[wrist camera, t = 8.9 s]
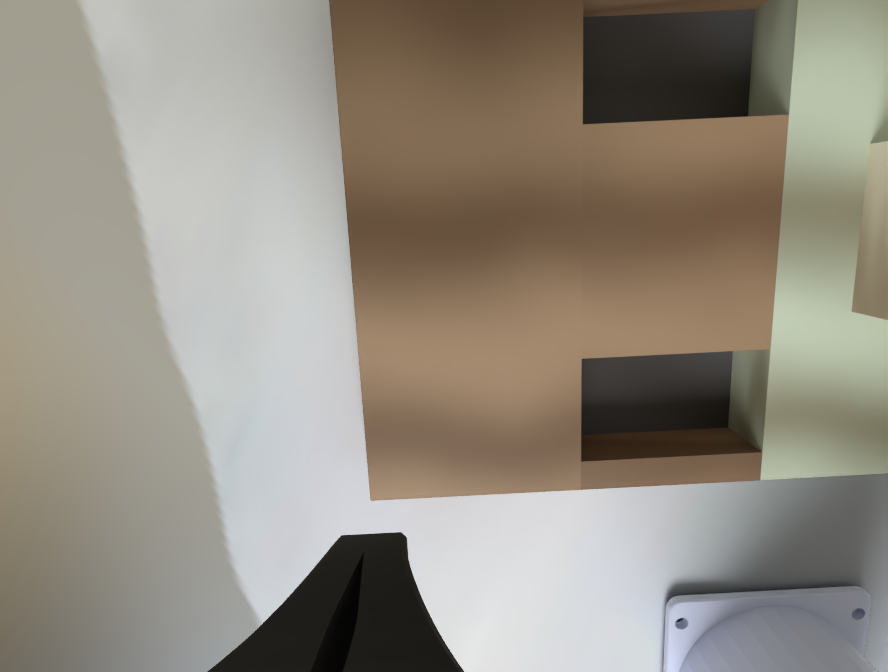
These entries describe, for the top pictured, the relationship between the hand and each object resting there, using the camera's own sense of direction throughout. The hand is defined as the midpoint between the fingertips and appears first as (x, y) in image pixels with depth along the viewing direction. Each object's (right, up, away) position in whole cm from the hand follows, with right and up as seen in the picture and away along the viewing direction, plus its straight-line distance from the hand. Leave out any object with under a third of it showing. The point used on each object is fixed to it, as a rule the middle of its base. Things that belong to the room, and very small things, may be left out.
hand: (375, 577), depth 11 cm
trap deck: (+9, +8, +8) cm, 14 cm away
